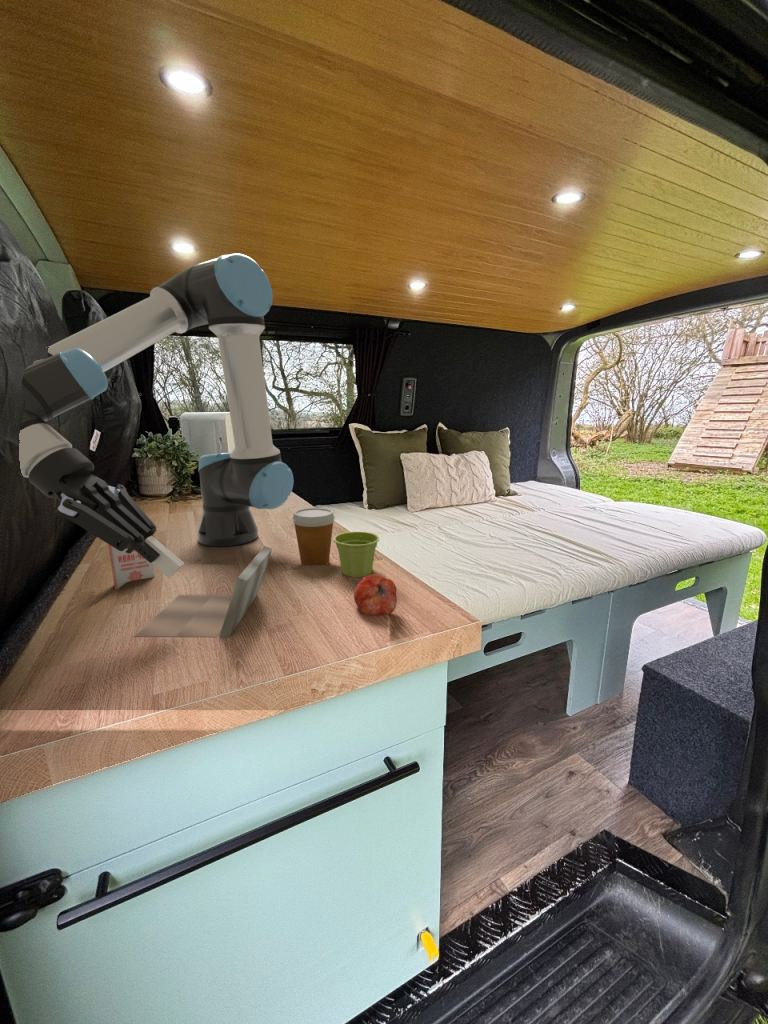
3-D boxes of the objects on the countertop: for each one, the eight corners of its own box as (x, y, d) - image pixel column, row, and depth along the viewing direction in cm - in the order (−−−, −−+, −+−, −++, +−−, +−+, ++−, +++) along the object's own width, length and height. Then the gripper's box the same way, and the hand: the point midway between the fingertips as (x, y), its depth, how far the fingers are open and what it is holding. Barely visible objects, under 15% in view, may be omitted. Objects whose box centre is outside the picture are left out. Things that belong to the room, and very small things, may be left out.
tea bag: (115, 583, 81) (108, 536, 78) (154, 577, 84) (148, 531, 82) (115, 590, 78) (107, 541, 75) (155, 583, 81) (149, 535, 79)
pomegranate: (350, 621, 72) (354, 611, 63) (352, 580, 75) (357, 565, 66) (391, 623, 73) (401, 614, 64) (392, 583, 76) (402, 569, 67)
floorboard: (180, 601, 74) (179, 594, 73) (246, 602, 74) (246, 595, 73) (135, 645, 60) (134, 636, 60) (217, 645, 60) (216, 636, 60)
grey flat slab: (256, 597, 74) (248, 595, 73) (272, 548, 71) (264, 545, 71) (228, 639, 60) (219, 636, 60) (247, 580, 58) (237, 577, 58)
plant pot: (325, 576, 86) (324, 537, 83) (357, 565, 92) (357, 528, 90) (355, 590, 79) (355, 548, 77) (388, 576, 86) (388, 537, 84)
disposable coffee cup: (343, 565, 92) (342, 513, 89) (304, 573, 87) (302, 519, 84) (324, 553, 100) (323, 505, 97) (287, 560, 95) (285, 510, 92)
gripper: (69, 473, 67) (181, 570, 71) (-4, 488, 54) (138, 605, 58) (96, 441, 65) (209, 542, 70) (29, 449, 53) (171, 571, 57)
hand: (176, 570), depth 64 cm, fingers closed
